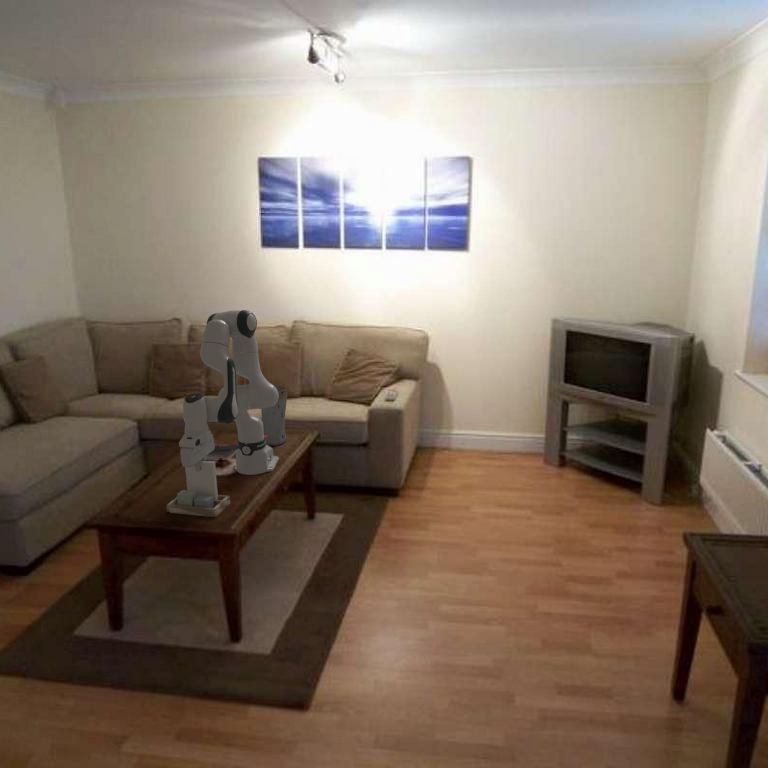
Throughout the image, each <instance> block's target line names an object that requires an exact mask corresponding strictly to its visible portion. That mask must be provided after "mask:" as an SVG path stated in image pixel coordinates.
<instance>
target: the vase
mask: <svg viewBox="0 0 768 768" xmlns="http://www.w3.org/2000/svg"><path fill="white" fill-rule="evenodd" d="M273 385H274V384H273ZM274 386H275V387H276V389H277V391H278V395H279V397H278V401H277V403H276V405H275V406H272V407H269V408H265V409H260V410H261V421H262V422H263V430H264V436H266V435H267V436H268V439H267V440H266V444H267V445H268V446H270V447H279V446H282V445H283V444H284V443H285V442H287V435H286V429H285V427H286V424H285V423H286V422H285V420H286V419H285V418H286V409H287V402H288V401H287V400H288V387H287V386H281V385H278V384H277V385H274Z"/></svg>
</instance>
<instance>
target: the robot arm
mask: <svg viewBox="0 0 768 768" xmlns="http://www.w3.org/2000/svg"><path fill="white" fill-rule="evenodd" d="M257 325H258V321H257V318H256V315H255V314H254V313H253V312H252V311H250V310H245V309H242V310H228V311H222V312H216V313H212V314H211V315H210V316H209V317H208V318H207V321H206V326H205V329H204V331H203V335H202V339H201V344H200V348H199V349H200V351H199V357H200V359H201V360H202V362H203V363H204V364H205V365H206V366H207V367H209V368H211V369H213V370H215V371H217V372H220V374H221V375H222V376H223V377H222V378H223V388H221V389H220V390H219V392H218V394H217V395H218V396H217V397H213V396H212V397H211V396H204V395H203V394H202V393H199V392H195V393H190V394H187V395H186V396H185V397H184V398H183V402H182V414H183V417H182V418H183V422H184V423H185V425H184V433H183V436H182V437H181V439H180V440H179V441H178V447H179V448H180V451H179V452H180V453H179V454H180V461H181V465H182V466H183V468H185V467H192V466H194V467H195V471H197V472H199V471H200V470H201V466H200V465H199V461H200V460H202V461H207V460H206V456H207V455H208V454H209V453H211V452H212V451H213V450H214V449H215V444H216V443H215V438H214V434H212V430H211V429H210V428H209V425H208V422H210V423H219V424H220V423H221V424H227V425H229V424H231V423H232V422H233V421H235V424H236V429H237V436H238V437H237V438H238V440H237V445H238V448H239V449H238V450H237V451H236V454H235V464H236V466H235V467H236V468H237V470H236V471H237V472H238V474H242V475H248V476H254V475H255V476H256V475H260V474H264V473H267V472H274V470H275V468H276V466H277V464H278V462H279V459H280V458H279V456H277V455H275V454H274V449H273V447H272V446H270V445H267V444H266V440H267V439H268V436H267V435H266V436H264V430H263V422H262V418H259V417H258V416H256V415H252V414H251V413H249V411H250V410H252V411H253V410H261V409H265V408H269V407H272V406H275V405H276V403H277V401H278V397H279V395H278V391H277V389H276V387H275V386H274V384H273V383H271V382H270V381H268V380H267V378H265V376H264V375H263V373H262V369H261V365H260V358H259V347H258V339H257V335H256V331H257ZM231 340H232V343H231V345H232V346H231V353H232V358H231V357H230V353H229V351H230V342H231ZM237 375H238V376H240V377H242V378H245V379H247V380H248V382H249V383H248V384H240V385H239V384H238V385H237Z"/></svg>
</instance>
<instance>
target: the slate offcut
mask: <svg viewBox="0 0 768 768" xmlns="http://www.w3.org/2000/svg"><path fill="white" fill-rule="evenodd" d="M194 506H195V507H205V508H214V501H213V496H202V495H199V496H197V497H196V498H195V499H194Z"/></svg>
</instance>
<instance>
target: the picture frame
mask: <svg viewBox="0 0 768 768" xmlns="http://www.w3.org/2000/svg"><path fill="white" fill-rule="evenodd" d="M238 449H239V448H238V444H221V443H215V449H214V450H213V451H212V452H211V453H209V454H208V455H207V456H206V461H216V460H215V459H218V458H224V459H229V460H230V459H232V458H233V457H234V456H236V451H237V450H238Z"/></svg>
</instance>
